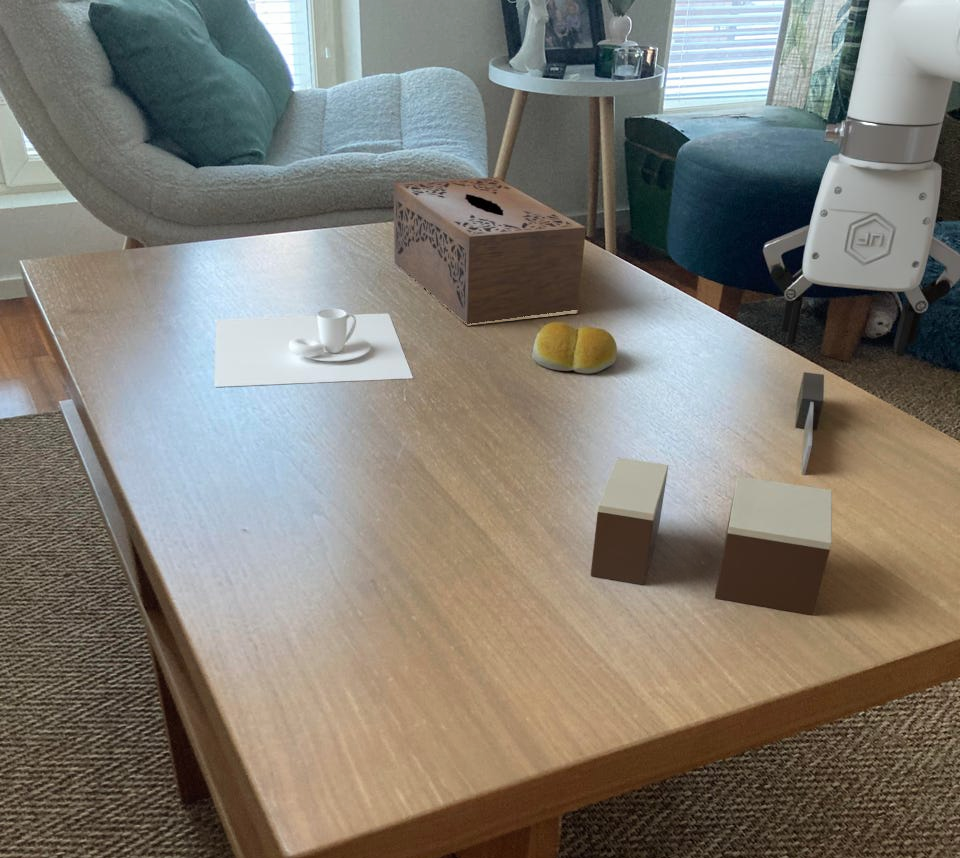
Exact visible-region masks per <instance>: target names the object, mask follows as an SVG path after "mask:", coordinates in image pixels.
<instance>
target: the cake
mask: <svg viewBox="0 0 960 858" xmlns="http://www.w3.org/2000/svg"><path fill="white" fill-rule="evenodd" d="M832 544H833V490H832V489H828V488H827V489H826V488H819V487H814V486H813V487H812V486H806V485H800V484H794V483H787V482H781V481H774V480H766V479H761V478H754V477H747V476H740V475H737V476H736V481H735V486H734V491H733V496H732V500H731V507H730V511H729V515H728V521H727V525H726V532H725V536H724V542H723V545H722V551H721V552H722V554H721V558H720V564H719V569H718V575H717V581H716V582H717V583H716V587H715V594H714V599H717V600H718V599H719V600H724V601H728V602H729V601H730V602H736V603H741V604H746V605H747V604H748V605H751V606H752V605H753V606H758V607H763V608H769V609H775V610H781V611H786V612H793V613H799V614H804V615H808V616H809V615H811V616H812V615H813V614H814V610H815V606H816V603H817V599H818V595H819V592H820V588H821V585H822V580H823V577H824V574H825V570H826V566H827V562H828V558H829V556H830V551H831V547H832Z"/></svg>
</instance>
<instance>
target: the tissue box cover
mask: <svg viewBox="0 0 960 858" xmlns="http://www.w3.org/2000/svg"><path fill="white" fill-rule="evenodd" d="M586 229H587V228H586V226H584V225H582V224H581V223H579V222H577V221H576V220H574V219H571V218H570V217H568V216H566V215H565V214H562V213H561V212H559V211H558V210H556V209H554V208H552V207H551V206H549V205H547V204H545V203H543V202H542V201H540V200H538V199H536V198H534V197H533V196H530V195H529V194H527V193H525V192H523V191H522V190H520V189H519V188H516V187H515V186H513V185H511V184H509V183H508V182H506V181H504V180H502V179H500V178H499V177H497V176H496V177H495V176H494V177H478V178H477V177H476V178H462V179H447V180H445V179H444V180H430V181H427V180H426V181H411V182H398V183H397V182H395V183H394V182H393V235H394V236H393V239H394V240H393V241H394V264H395V263H396V264H397V265H398V267H399V266H400V267H401V268H402V269H403V270H404V271H405V272H406V273H405V272H404V271H403V270H402V269H401V268H400V267H399V268H400V269H401V270H402V271H403V272H404V273H405V274H407V275H408V274H409V275H410V276H411V277H412V278H414V279H415V280H416V281H417V282H418V283H419V284H421V285H422V286H423V287H424V288H425V289H427V290H428V291H429V292H430V293H431V294H432V295H434V296H435V297H436V298H437V299H438V300H440V301H441V302H442V303H443V304H445V305H446V306H447V307H448V308H449V309H450V310H452V311H453V312H454V313H455V314H456V315H457V316H459V317H460V318H461V319H462V320H463V321H465V323H467V324H470V323H471V324H472V323H479V322H485V321H486V322H487V321H495V320H502V319H510V318H517V317H523V316H524V317H525V316H531V315H540V314H547V313H548V314H549V313H556V312H563V311H571V310H578V311H579V308H580V295H581V285H582V276H583V275H582V273H583V265H584V263H583V262H584V252H585V251H584V250H585V241H586V231H587V230H586ZM396 264H395V265H396ZM397 265H396V266H397ZM409 275H408V276H409ZM410 276H409V277H410ZM411 277H410V278H411ZM412 278H411V279H412ZM415 280H414V281H415ZM416 281H415V282H416ZM417 282H416V283H417ZM418 283H417V284H418ZM419 284H418V285H419ZM424 288H423V289H424ZM425 289H424V290H425ZM432 295H431V296H432Z"/></svg>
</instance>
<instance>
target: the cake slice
mask: <svg viewBox="0 0 960 858" xmlns="http://www.w3.org/2000/svg"><path fill="white" fill-rule="evenodd" d="M668 470H669V464H664V463H658V462H651V461H644V460H639V459H637V460H636V459H630V458H622V457H616V458H615V461H614V463H613V466H612V469H611V471H610V473H609V475H608V479H607V481H606V484H605V487H604V489H603V491H602V492H603V493H602V495H601V497H600V499H599V502H598V506H597V513H596V523H595V524H596V525H595V530H594V531H595V533H594V541H593V549H592V559H591V568H590V576H591V577H596V578H601V579H602V578H603V579H606V580H613V581H619V582H624V583H625V582H626V583H630V584H635V585H642V586H643V585H644V584H645V582H646V579H647V575H648V572H649V568H650V564H651V560H652V557H653V554H654V549H655V545H656V542H657V538H658V535H659V529H660V523H661V517H662V511H663V505H664V504H663V503H664V497H665V490H666V484H667V477H668V472H669V471H668Z"/></svg>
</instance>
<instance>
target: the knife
mask: <svg viewBox="0 0 960 858" xmlns="http://www.w3.org/2000/svg"><path fill="white" fill-rule="evenodd" d="M824 394H825V374H822V373H813V372H805V371H804V372H803V373H802V378H801V382H800V386H799V392H798V396H797V401H796V414H795V425H794V427H795V428H797V429H803V442H802V443H803V444H802V458H801V459H802V462H801V475H806V472H807V468H808V464H809V460H810V455H811V452H812V447H813V431H817V430H818V426H819V421H820V417H821V414H822V409H823V405H824V402H825V401H824V400H825V399H824V396H825V395H824Z"/></svg>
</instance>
